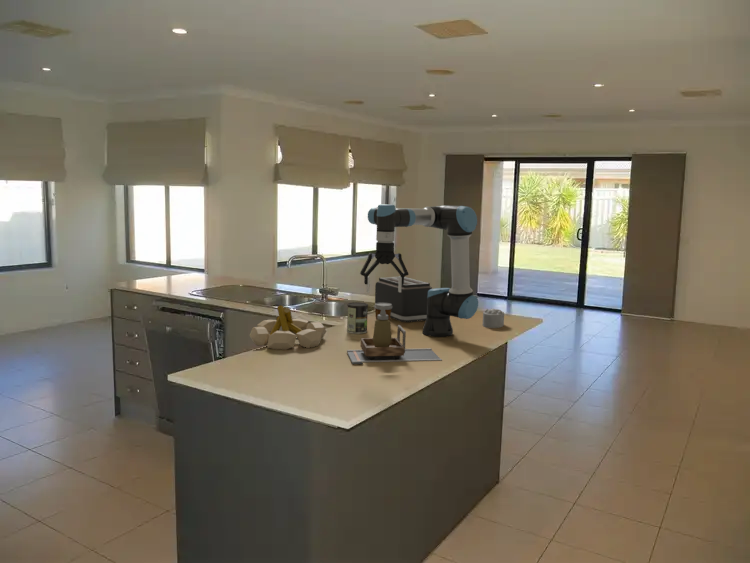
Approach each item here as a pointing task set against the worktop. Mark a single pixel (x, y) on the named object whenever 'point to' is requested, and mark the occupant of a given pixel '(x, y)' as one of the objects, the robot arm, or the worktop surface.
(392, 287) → the toaster
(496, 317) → the lumpy-topped squat cylinder
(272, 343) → the campfire
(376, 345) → the squeeze bottle
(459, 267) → the robot arm
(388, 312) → the disposable coffee cup
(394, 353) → the cart
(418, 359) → the track
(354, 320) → the coffee can
